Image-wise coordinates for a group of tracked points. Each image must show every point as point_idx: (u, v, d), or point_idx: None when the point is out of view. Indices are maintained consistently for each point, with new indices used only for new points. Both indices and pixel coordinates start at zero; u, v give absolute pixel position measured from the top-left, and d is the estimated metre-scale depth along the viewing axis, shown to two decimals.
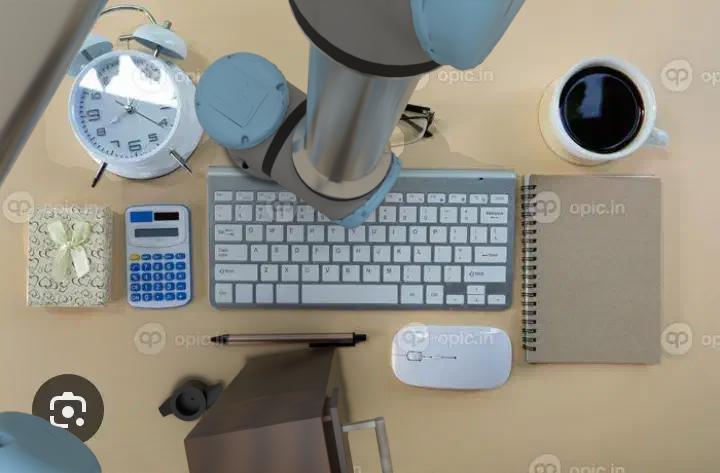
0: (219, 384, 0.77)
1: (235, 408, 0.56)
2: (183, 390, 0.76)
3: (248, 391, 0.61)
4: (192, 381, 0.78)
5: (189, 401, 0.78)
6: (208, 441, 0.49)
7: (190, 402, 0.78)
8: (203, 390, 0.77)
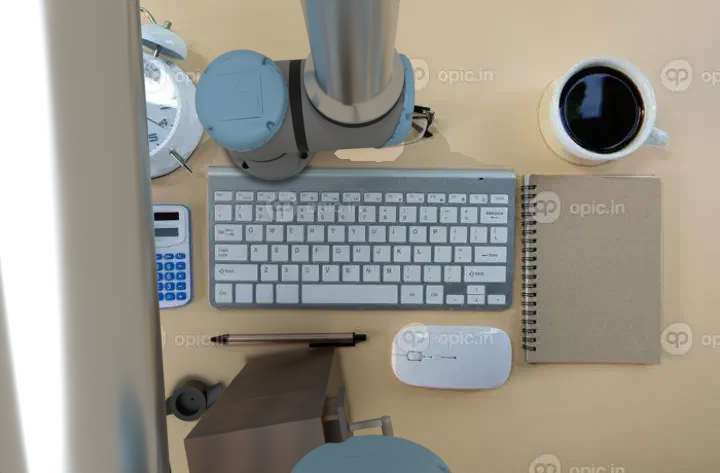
0: (219, 384, 0.77)
1: (235, 408, 0.56)
2: (183, 390, 0.76)
3: (248, 391, 0.61)
4: (192, 381, 0.78)
5: (189, 401, 0.78)
6: (208, 441, 0.49)
7: (190, 402, 0.78)
8: (203, 390, 0.77)
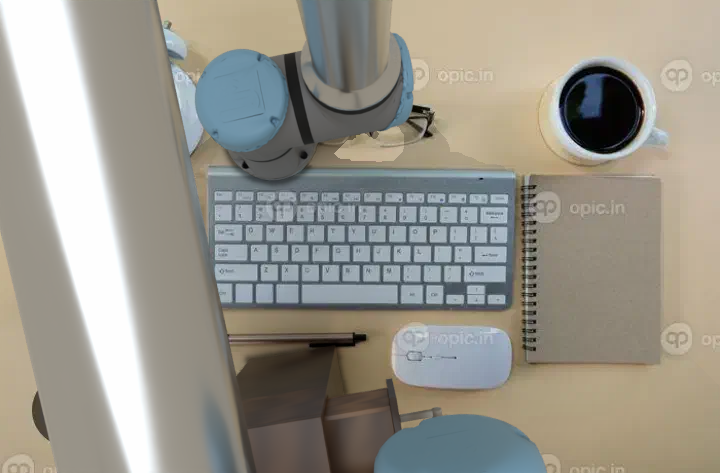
0: None
1: None
2: None
3: (248, 391, 0.61)
4: None
5: None
6: None
7: None
8: None
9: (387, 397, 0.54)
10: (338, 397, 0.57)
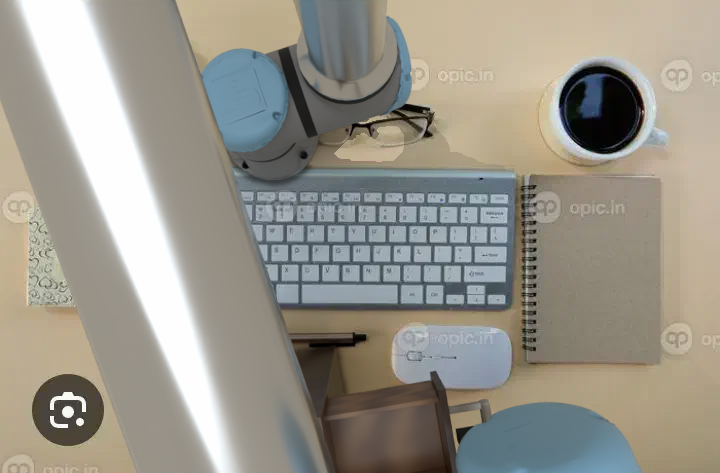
0: None
1: None
2: None
3: None
4: None
5: None
6: None
7: None
8: None
9: (433, 389, 0.54)
10: (382, 390, 0.57)
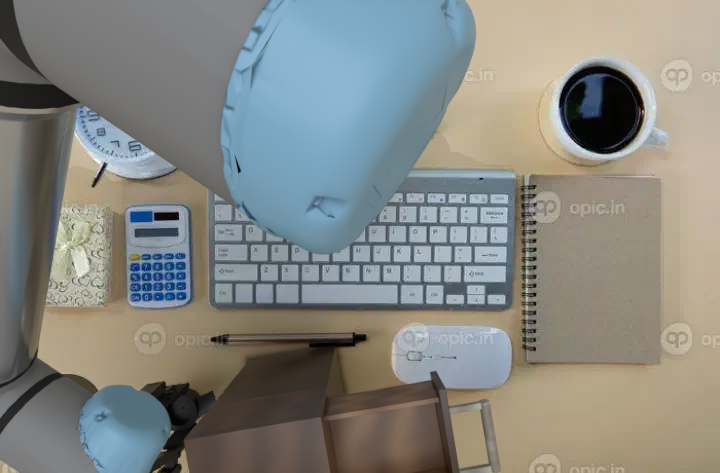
0: (212, 392, 0.73)
1: (235, 408, 0.56)
2: None
3: (248, 391, 0.61)
4: None
5: (180, 410, 0.73)
6: (208, 441, 0.49)
7: (181, 411, 0.73)
8: (195, 398, 0.72)
9: (434, 389, 0.54)
10: (382, 390, 0.57)
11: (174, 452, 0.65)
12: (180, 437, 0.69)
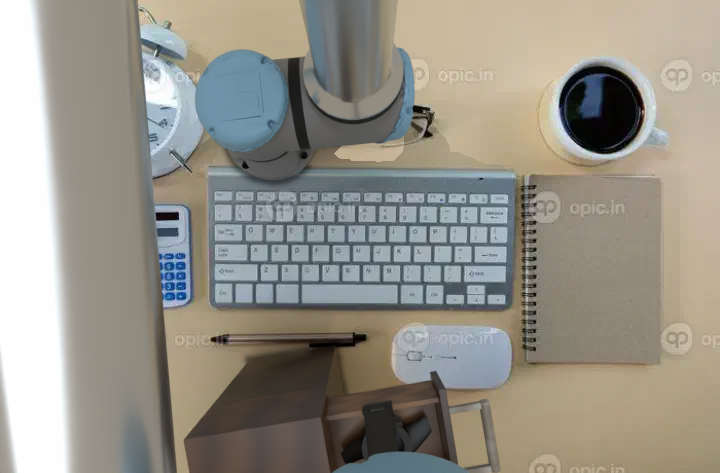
0: (425, 419, 0.56)
1: (235, 408, 0.56)
2: None
3: (248, 391, 0.61)
4: None
5: None
6: (208, 441, 0.49)
7: None
8: (405, 428, 0.55)
9: (433, 389, 0.54)
10: (382, 390, 0.57)
11: None
12: None
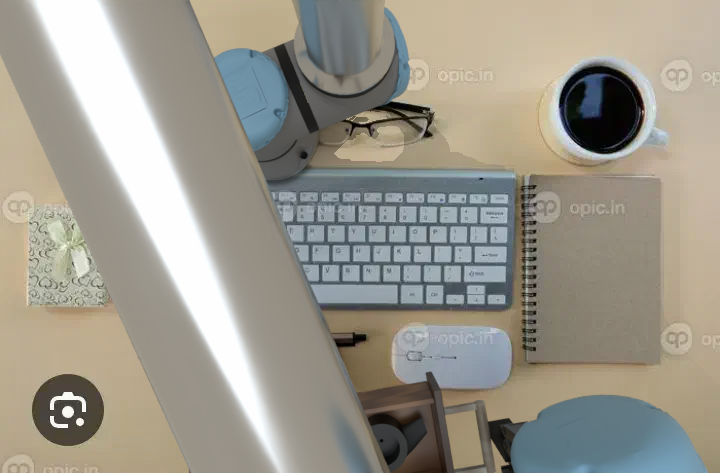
0: (421, 420, 0.56)
1: None
2: (376, 430, 0.54)
3: None
4: (381, 416, 0.56)
5: None
6: None
7: (379, 445, 0.56)
8: (401, 429, 0.55)
9: (429, 390, 0.54)
10: (378, 390, 0.57)
11: None
12: None
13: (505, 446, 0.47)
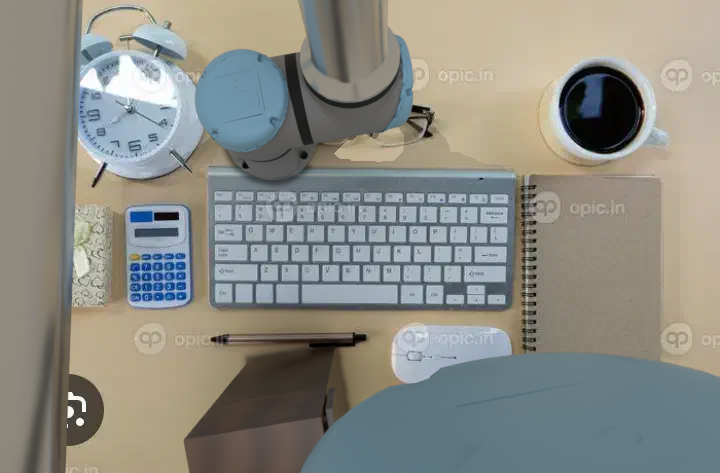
0: None
1: (235, 408, 0.56)
2: None
3: (248, 391, 0.61)
4: None
5: None
6: (208, 441, 0.49)
7: None
8: None
9: None
10: None
11: None
12: None
13: None
